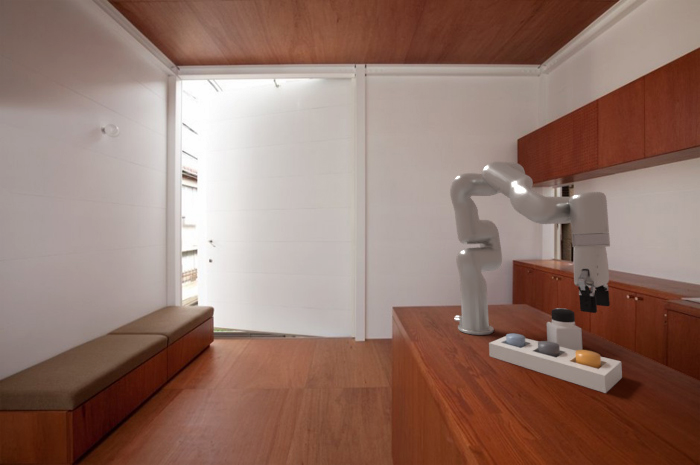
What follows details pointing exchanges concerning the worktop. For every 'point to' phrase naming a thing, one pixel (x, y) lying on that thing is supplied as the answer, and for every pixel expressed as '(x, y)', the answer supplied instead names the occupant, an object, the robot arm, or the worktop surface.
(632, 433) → the worktop surface
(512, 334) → the slate button
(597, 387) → the frame
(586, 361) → the orange button
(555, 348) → the charcoal button
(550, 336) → the medicine bottle
